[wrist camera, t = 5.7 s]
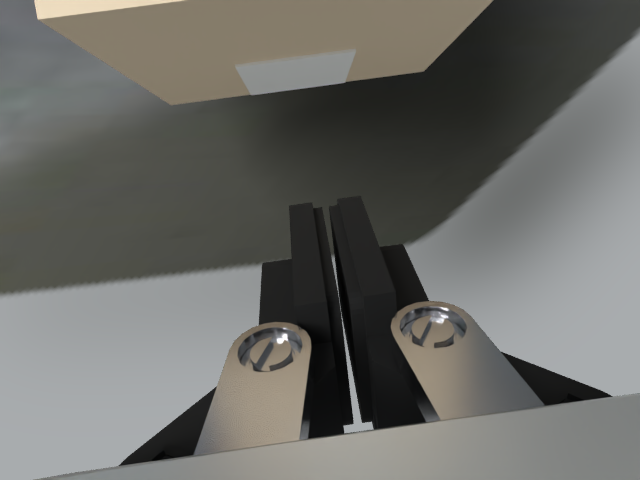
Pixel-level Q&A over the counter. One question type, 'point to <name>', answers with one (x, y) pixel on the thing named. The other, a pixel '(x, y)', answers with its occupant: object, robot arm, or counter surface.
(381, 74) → the outer flap
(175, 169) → the counter surface
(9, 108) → the counter surface
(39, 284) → the counter surface
